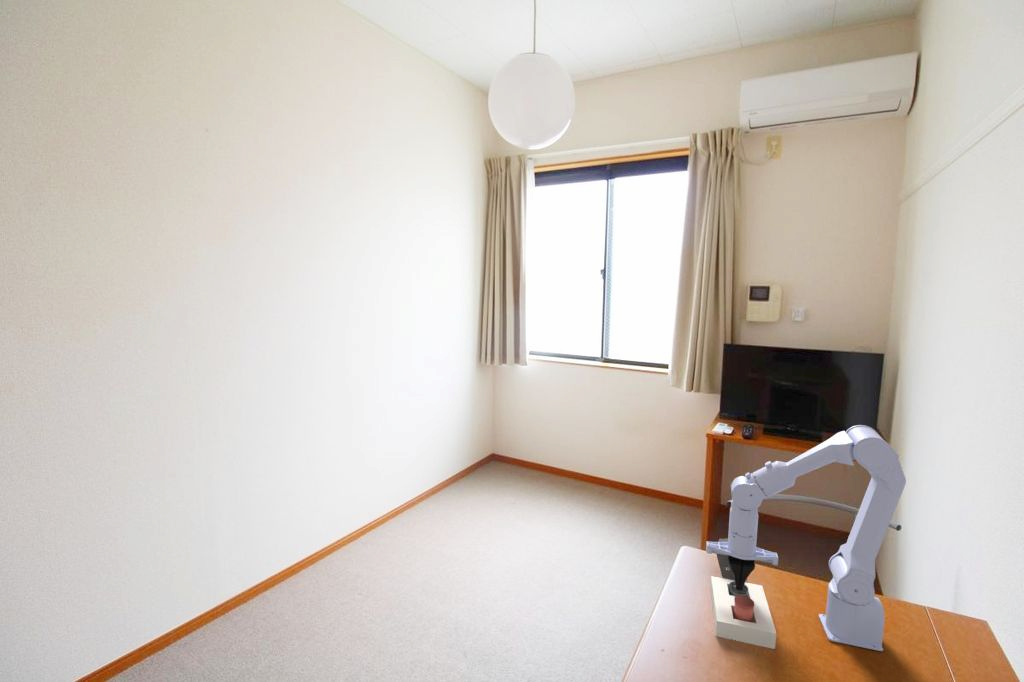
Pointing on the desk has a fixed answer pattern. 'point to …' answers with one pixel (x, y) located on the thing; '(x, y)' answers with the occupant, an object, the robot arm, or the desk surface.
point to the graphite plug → (738, 590)
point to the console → (739, 630)
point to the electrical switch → (725, 564)
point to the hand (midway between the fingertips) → (738, 586)
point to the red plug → (743, 608)
